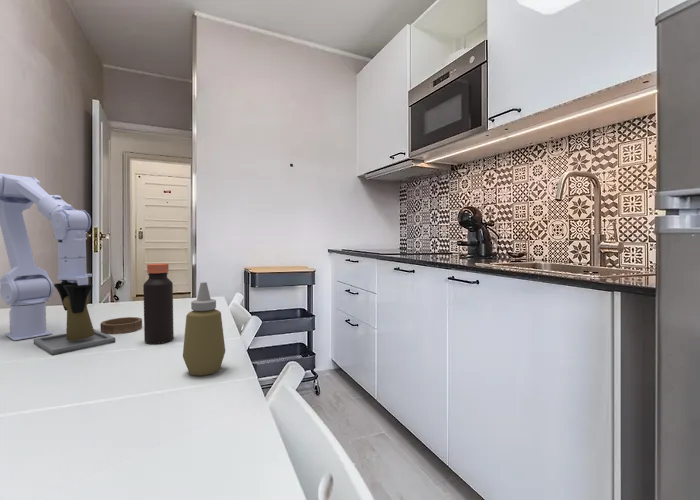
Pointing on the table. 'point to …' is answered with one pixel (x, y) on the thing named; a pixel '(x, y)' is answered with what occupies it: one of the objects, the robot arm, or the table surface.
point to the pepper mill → (78, 323)
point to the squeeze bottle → (203, 335)
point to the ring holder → (121, 325)
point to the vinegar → (158, 305)
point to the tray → (71, 342)
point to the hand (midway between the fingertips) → (73, 311)
